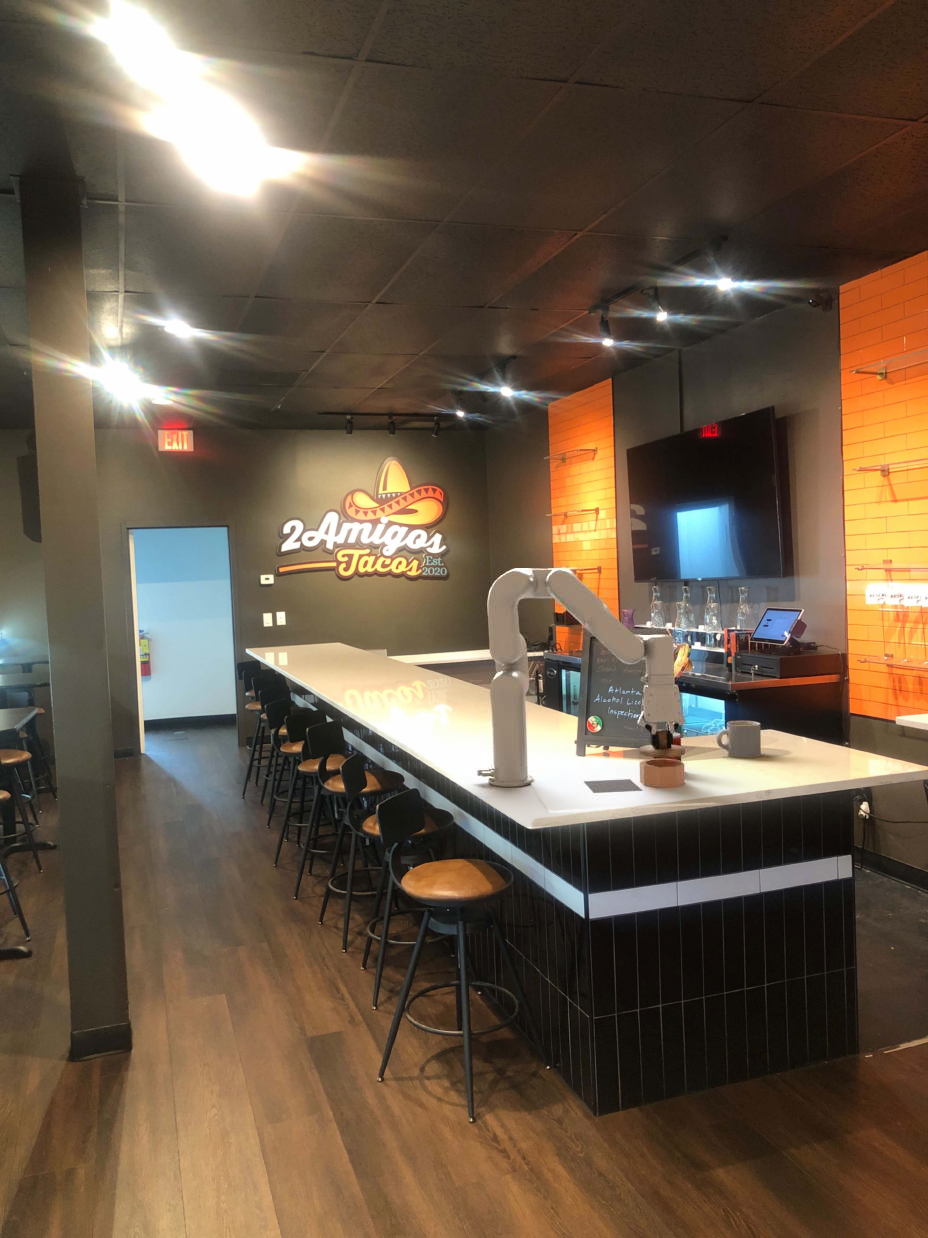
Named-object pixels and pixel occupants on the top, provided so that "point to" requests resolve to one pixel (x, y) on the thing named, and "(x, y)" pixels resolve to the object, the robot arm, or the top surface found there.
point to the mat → (612, 786)
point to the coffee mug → (741, 739)
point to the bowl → (662, 773)
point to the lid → (662, 747)
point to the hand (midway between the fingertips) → (661, 747)
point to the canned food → (675, 742)
